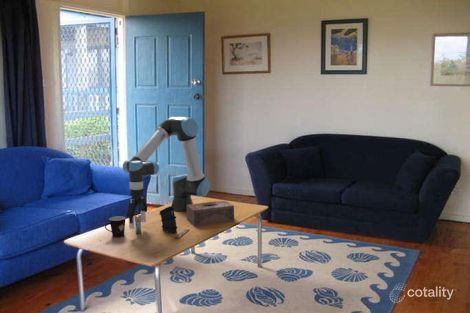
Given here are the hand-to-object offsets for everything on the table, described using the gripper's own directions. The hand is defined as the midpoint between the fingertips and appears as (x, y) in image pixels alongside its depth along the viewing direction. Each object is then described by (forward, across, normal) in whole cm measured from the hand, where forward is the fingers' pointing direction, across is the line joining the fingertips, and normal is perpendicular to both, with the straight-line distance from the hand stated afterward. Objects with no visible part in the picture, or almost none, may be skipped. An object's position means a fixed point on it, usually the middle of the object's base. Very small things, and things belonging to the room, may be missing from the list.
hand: (137, 225), depth 270 cm
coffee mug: (+5, +8, -10) cm, 13 cm away
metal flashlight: (+5, 0, 0) cm, 5 cm away
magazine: (+5, -8, +15) cm, 18 cm away
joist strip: (+4, -4, +25) cm, 26 cm away
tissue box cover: (+5, -34, +32) cm, 47 cm away
